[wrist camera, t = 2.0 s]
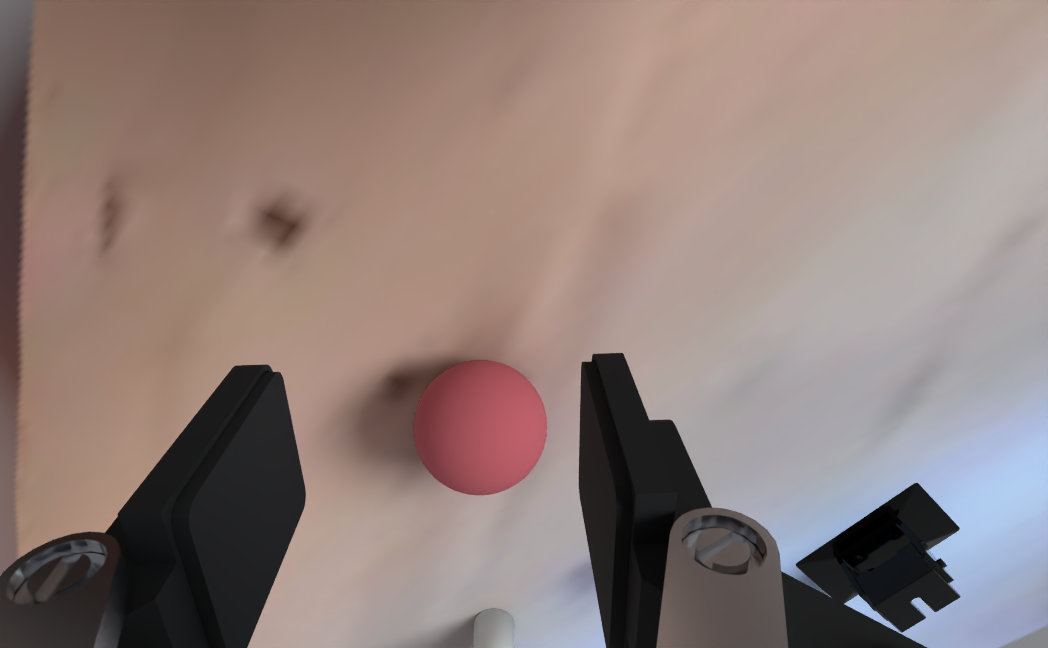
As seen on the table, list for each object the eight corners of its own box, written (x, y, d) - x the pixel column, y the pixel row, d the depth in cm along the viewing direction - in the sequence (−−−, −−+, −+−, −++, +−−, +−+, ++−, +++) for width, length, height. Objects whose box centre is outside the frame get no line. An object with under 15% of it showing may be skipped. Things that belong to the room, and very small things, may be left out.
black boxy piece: (816, 624, 40) (853, 691, 36) (747, 564, 38) (778, 630, 34) (995, 510, 37) (1058, 571, 33) (931, 438, 35) (990, 493, 30)
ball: (415, 340, 30) (397, 407, 25) (542, 335, 30) (552, 402, 25) (426, 445, 33) (411, 527, 27) (543, 440, 33) (551, 522, 27)
